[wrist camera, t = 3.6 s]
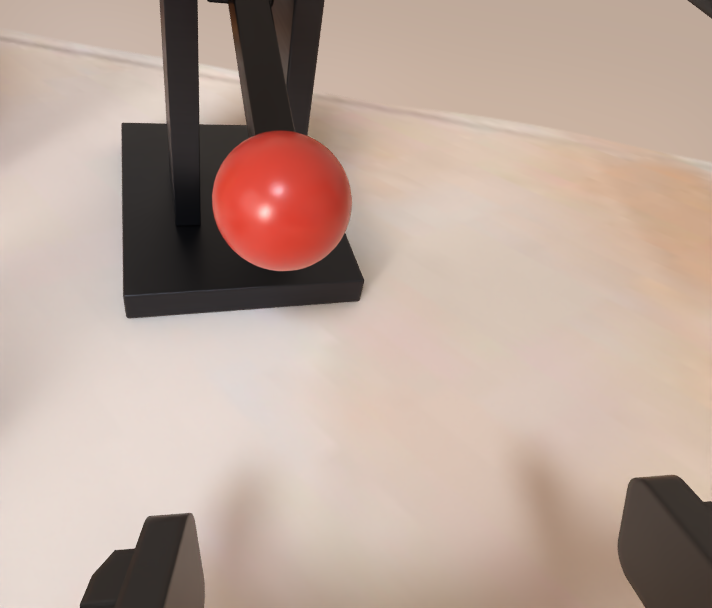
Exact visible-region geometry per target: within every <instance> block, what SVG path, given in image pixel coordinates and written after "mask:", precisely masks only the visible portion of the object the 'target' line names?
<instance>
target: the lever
mask: <svg viewBox="0 0 712 608" xmlns="http://www.w3.org/2000/svg"><path fill="white" fill-rule="evenodd" d="M207 1H209V2H215V3H227V4H228V5H229V12H230V19H231V25H232V32H233V38H234V45H235V51H236V58H237V63H238V71H239V77H240V84H241V91H242V97H243V104H244V110H245V117H246V123H247V130H248V136H249V138H248V139H247V140H245V141H243V142H242V143H241V144H239V145H238V146H237V147H235V148H234V149H233V150H232V151H231V152H230V153H229V154H228V156H227V157H226V158H225V160H224V161H223V163H222V164H221V166H220V168H219V170H218V173H217V175H216V178H215V181H214V186H213V192H212V207H213V213H214V218H215V221H216V224H217V227H218V229H219V231H220V233H221V235H222V237H223V238H224V240H225V241H226V242H227V244H228V245H229V246H230V247H231V248H232V250H233V251H234V252H236V253H237V254H238V255H239V256H240V257H242V258H243V259H245V260H246V261H248V262H250V263H252V264H254V265H256V266H258V267H261V268H264V269H268V270H274V271H292V270H299V269H303V268H306V267H308V266H311V265H313V264H315V263H317V262H318V261H320V260H322V259H323V258H324V257H326V256H327V255H328V254H329V253H330V252H331V251H332V250H333V249H334V248H335V247H336V246H337V245H338V243H339V242H340V240H341V239H342V237H343V235H344V233H345V231H346V229H347V226H348V223H349V220H350V215H351V208H352V197H351V190H350V185H349V181H348V178H347V176H346V173H345V171H344V169H343V167H342V166H341V164H340V162H339V161H338V160H337V158H336V157H335V156H334V155H333V153H332V152H331V151H330V150H329V149H328V148H326V147H325V146H324V145H323V144H321V143H319V142H318V141H316V140H315V139H313V138H311V137H309V136H306V135H303V134H300V133H297V132H295V130H294V124H293V119H292V114H291V109H290V103H289V98H288V93H287V88H286V82H285V77H284V72H283V67H282V61H281V56H280V51H279V46H278V40H277V35H276V30H275V25H274V19H273V14H272V9H271V7H272V6H273V3H274V0H207Z"/></svg>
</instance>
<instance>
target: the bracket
mask: <svg viewBox="0 0 712 608" xmlns="http://www.w3.org/2000/svg"><path fill="white" fill-rule="evenodd" d="M197 7H198V5H197V0H160V15H161V32H162V50H163V67H164V85H165V102H166V120H167V124H156V123H122V224H123V298H124V305H125V312H126V317H127V318H137V317H151V316H164V315H178V314H191V313H204V312H218V311H231V310H244V309H258V308H271V307H285V306H298V305H311V304H325V303H338V302H351V301H359V300H360V296H361V292H362V288H363V284H364V279H363V276H362V274H361V271H360V269H359V266H358V264H357V261H356V259H355V256H354V254H353V251H352V249H351V246H350V244H349V241H348V239H347V236H346V234H345V233H344V235H343V237H342V239H341V240H340V242H339V243H338V245H337V246H336V247H335V248H334V249H333V250H332V251H331V252H330V253H329V254H328V255H327V256H326V257H324V258H323V259H322V260H320V261H318V262H317V263H315V264H313V265H311V266H308V267H306V268H303V269H299V270H292V271H274V270H268V269H264V268H261V267H258V266H256V265H254V264H252V263H250V262H248V261H246V260H245V259H243V258H242V257H240V256H239V255H238V254H237V253H236V252H234V251H233V250H232V248H231V247H230V246H229V245H228V244H227V242H226V241H225V240H224V238H223V237H222V235H221V233H220V231H219V229H218V227H217V224H216V221H215V218H214V213H213V207H212V192H213V186H214V181H215V178H216V175H217V173H218V170H219V168H220V166H221V164H222V163H223V161H224V160H225V158H226V157H227V156H228V154H229V153H230V152H231V151H232V150H233V149H234V148H235V147H237V146H238V145H239V144H241V143H242V142H243V141H245V140H247V139H248V138H249V136H248V130H247V125H203V124H199V71H198V11H197V10H198V8H197ZM323 7H324V0H274V3H273V6H272V7H271V9H272V14H273V19H274V25H275V30H276V35H277V40H278V46H279V51H280V56H281V61H282V67H283V72H284V77H285V82H286V88H287V93H288V98H289V103H290V109H291V114H292V119H293V124H294V130H295V132H297V133H300V134H303V135H306V136H307V134H308V126H309V118H310V110H311V102H312V94H313V86H314V78H315V70H316V63H317V55H318V47H319V39H320V31H321V23H322V15H323Z"/></svg>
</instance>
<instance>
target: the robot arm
mask: <svg viewBox="0 0 712 608" xmlns="http://www.w3.org/2000/svg"><path fill="white" fill-rule="evenodd" d="M688 1H689V2H691V3H692V4H693V5H695V6H696V7H697V8H699V9H700V10H701V11H703V12H704V13H705V14H707V15H708V16H709V17H711V18H712V0H688ZM618 554H619V559H620V563H621V567H622V569H623V572H624V574H625V576H626V578H627V579H628V581H629V583H630V584H631V586H632V587H633V589H634V591H635V592H636V594H637V595H638V597H639V598H640V600H641V601H642V603H643V605H644V606H645V608H712V502H711V501H710V502H703V501H702V500H701V499H700V498H699V497H698V496H697V495H696V494H695V493H694V492H693V490H692V489H691V488H690V487H689V486H688V485H687V484H686V483H685V482H684V481H683V480H682V479H681V478H680V477H678V476H676V475H665V476H652V477H639V478H633V479H632V480H631V481H630V482H629V484H628V488H627V493H626V499H625V505H624V510H623V516H622V521H621V527H620V532H619V538H618ZM204 600H205V586H204V575H203V569H202V562H201V556H200V550H199V544H198V537H197V531H196V525H195V520H194V516H193V514H192V513H184V514H171V515H158V516H149V517H147V519H146V520H145V522H144V525H143V528H142V531H141V533H140V536H139V539H138V542H137V545H136V548H135V549H125V550H115V551H114V552H113V553H112V554H111V555H110V556H109V557H108V559H107V560H106V561H105V562H104V563H103V564H102V565H101V566H100V567H99V569H98V570H97V571H96V572H95V573H94V574H93V575H92V577H91V579H90V582H89V584H88V587H87V589H86V591H85V594H84V596H83V598H82V601H81V603H80V608H204Z"/></svg>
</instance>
